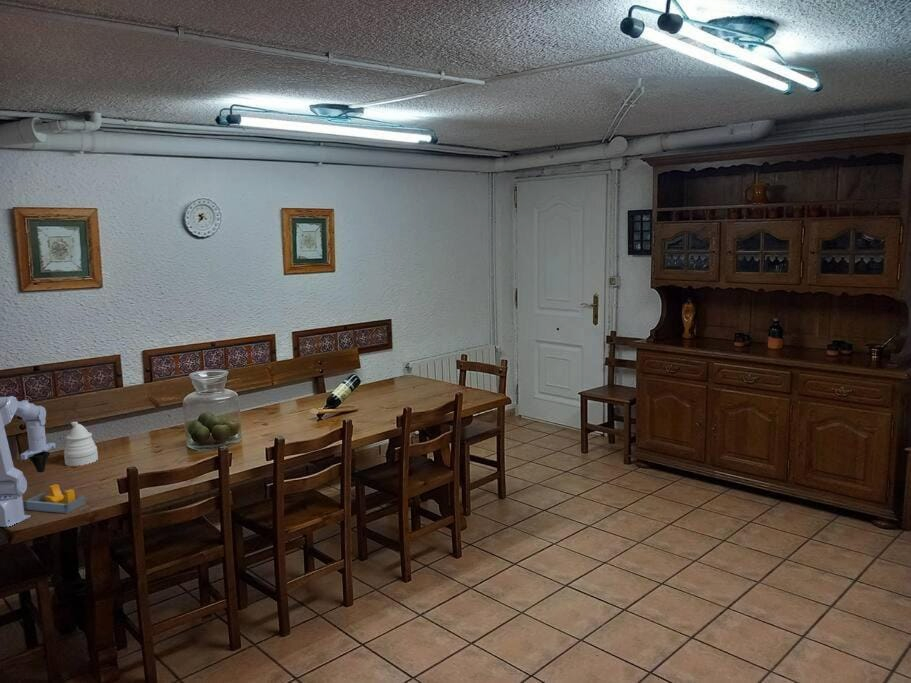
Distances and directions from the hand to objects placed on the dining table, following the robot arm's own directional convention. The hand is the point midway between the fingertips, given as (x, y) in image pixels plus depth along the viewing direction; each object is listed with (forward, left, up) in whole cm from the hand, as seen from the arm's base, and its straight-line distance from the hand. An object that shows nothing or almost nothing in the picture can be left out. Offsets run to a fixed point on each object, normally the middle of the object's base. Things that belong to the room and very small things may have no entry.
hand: (40, 471), depth 265 cm
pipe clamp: (-7, -14, -10) cm, 19 cm away
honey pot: (+38, +16, -10) cm, 42 cm away
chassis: (-8, -13, -9) cm, 18 cm away
